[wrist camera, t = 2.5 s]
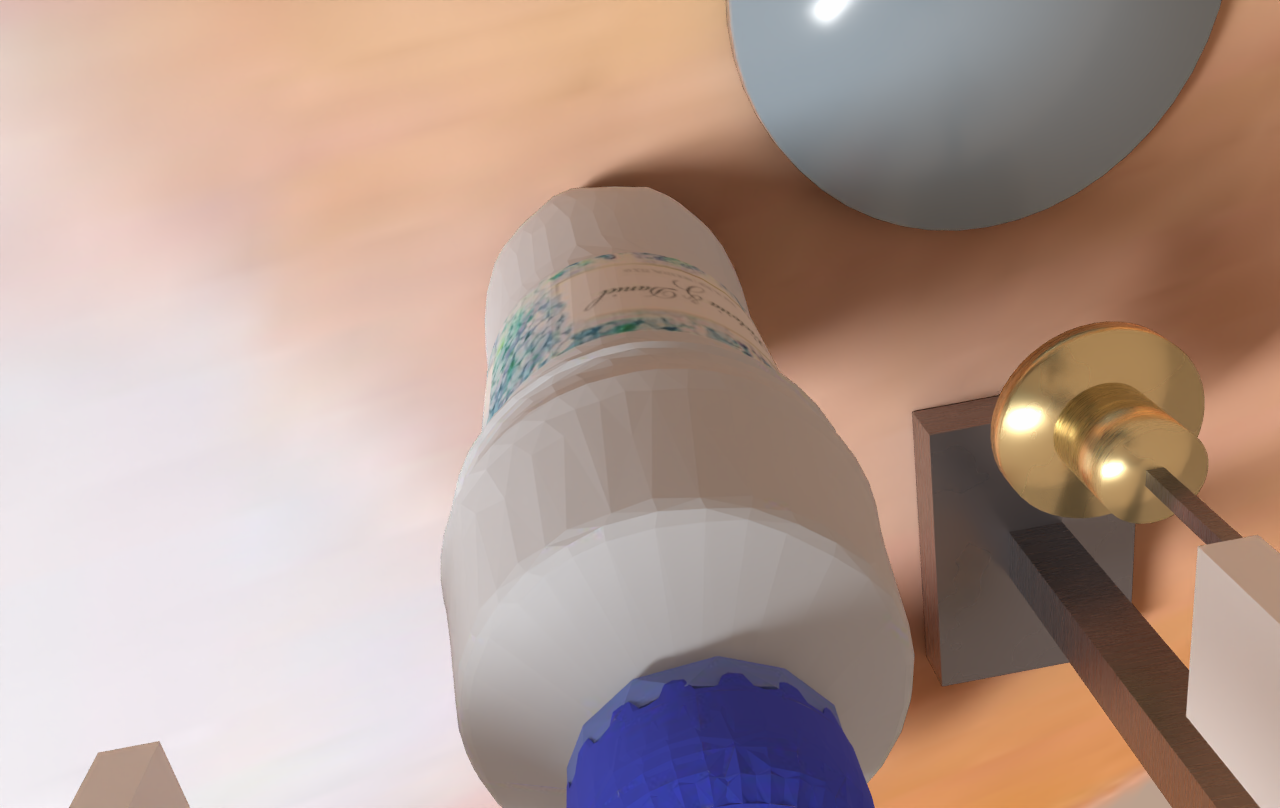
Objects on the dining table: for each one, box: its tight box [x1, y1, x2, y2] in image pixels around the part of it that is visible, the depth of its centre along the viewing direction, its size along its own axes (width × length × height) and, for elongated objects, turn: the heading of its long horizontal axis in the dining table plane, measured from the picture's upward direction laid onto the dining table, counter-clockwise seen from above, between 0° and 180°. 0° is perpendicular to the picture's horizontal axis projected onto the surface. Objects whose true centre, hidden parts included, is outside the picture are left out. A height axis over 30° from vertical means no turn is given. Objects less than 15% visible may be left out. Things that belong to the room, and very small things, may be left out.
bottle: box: [441, 186, 914, 808], centre depth 20 cm, size 7×7×20 cm
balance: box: [912, 322, 1260, 808], centre depth 25 cm, size 17×6×18 cm, turn 9°
